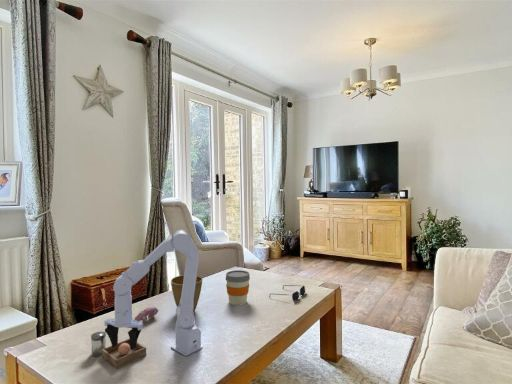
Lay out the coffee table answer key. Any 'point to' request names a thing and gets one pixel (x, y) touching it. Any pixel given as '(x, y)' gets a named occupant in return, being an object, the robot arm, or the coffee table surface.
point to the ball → (124, 349)
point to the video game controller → (146, 314)
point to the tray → (120, 360)
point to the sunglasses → (295, 294)
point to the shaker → (98, 343)
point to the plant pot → (177, 289)
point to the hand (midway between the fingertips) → (124, 346)
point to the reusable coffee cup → (237, 286)
